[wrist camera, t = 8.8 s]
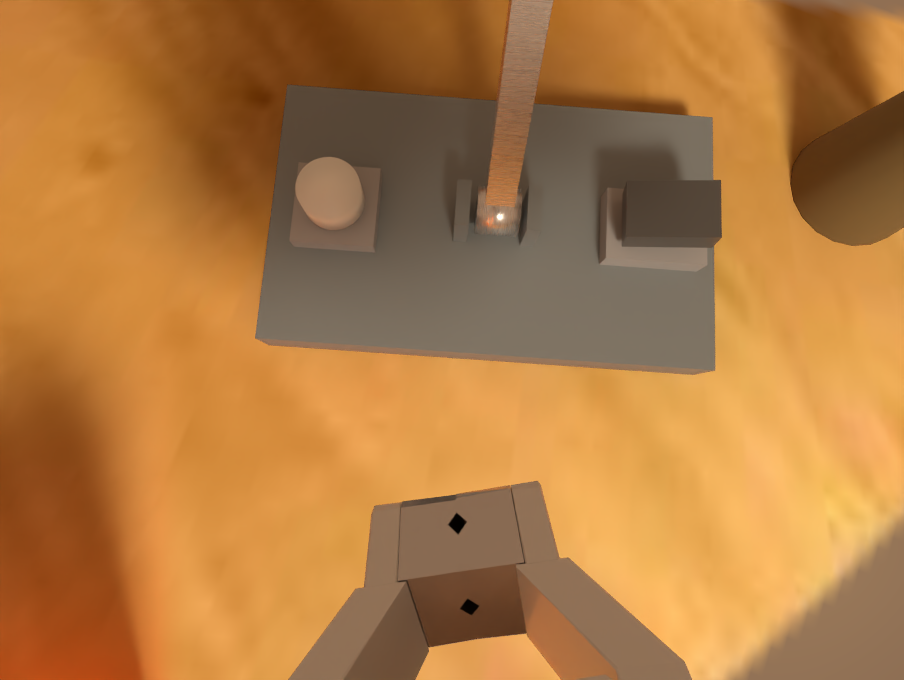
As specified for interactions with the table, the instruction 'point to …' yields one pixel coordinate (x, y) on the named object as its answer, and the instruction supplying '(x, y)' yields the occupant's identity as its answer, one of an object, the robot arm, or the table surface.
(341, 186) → the push button
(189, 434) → the table surface
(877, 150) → the brown pawn
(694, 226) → the rocker switch
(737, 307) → the table surface
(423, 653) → the robot arm
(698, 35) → the table surface
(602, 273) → the control panel
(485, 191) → the copper ball joystick
